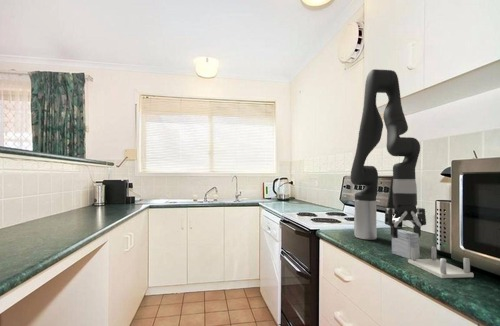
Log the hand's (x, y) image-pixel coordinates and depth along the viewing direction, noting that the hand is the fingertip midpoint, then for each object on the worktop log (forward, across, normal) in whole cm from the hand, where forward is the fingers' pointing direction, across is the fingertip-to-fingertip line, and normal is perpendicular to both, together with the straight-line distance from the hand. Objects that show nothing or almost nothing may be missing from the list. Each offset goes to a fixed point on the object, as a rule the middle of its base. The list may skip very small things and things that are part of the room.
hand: (405, 237), depth 92 cm
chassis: (+7, -1, +12) cm, 14 cm away
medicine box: (+7, 0, -1) cm, 7 cm away
